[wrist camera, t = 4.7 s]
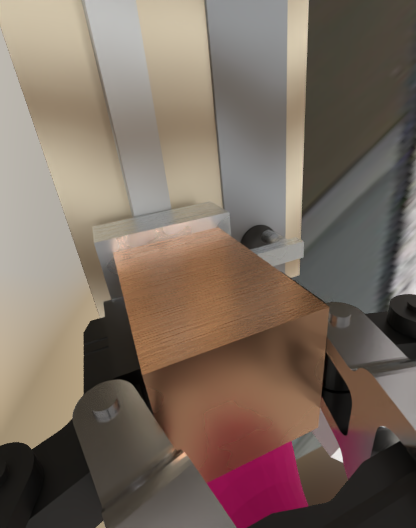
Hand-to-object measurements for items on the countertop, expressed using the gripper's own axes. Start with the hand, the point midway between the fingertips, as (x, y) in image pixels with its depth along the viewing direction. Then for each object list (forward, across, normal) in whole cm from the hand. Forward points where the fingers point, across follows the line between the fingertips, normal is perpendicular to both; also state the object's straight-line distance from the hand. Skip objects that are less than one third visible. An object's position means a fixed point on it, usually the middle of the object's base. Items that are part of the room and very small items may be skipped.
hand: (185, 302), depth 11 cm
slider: (+4, -2, 0) cm, 4 cm away
